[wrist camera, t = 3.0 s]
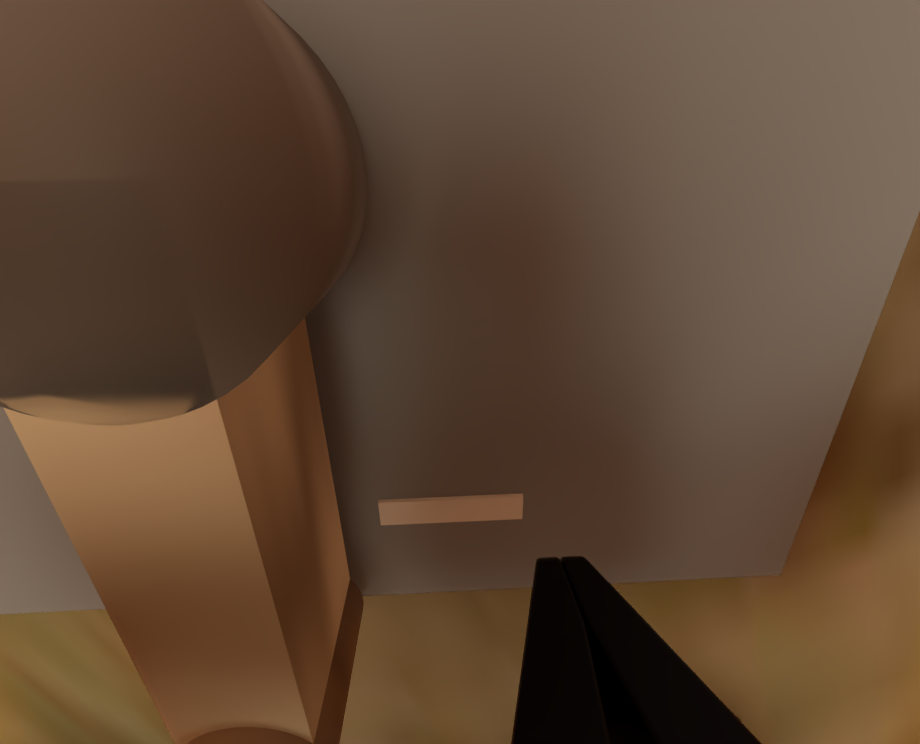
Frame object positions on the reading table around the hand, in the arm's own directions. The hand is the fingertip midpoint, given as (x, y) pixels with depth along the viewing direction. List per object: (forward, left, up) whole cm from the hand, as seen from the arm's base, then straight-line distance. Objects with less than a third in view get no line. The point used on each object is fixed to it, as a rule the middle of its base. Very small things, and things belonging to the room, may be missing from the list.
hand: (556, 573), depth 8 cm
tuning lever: (+3, +5, -1) cm, 6 cm away
